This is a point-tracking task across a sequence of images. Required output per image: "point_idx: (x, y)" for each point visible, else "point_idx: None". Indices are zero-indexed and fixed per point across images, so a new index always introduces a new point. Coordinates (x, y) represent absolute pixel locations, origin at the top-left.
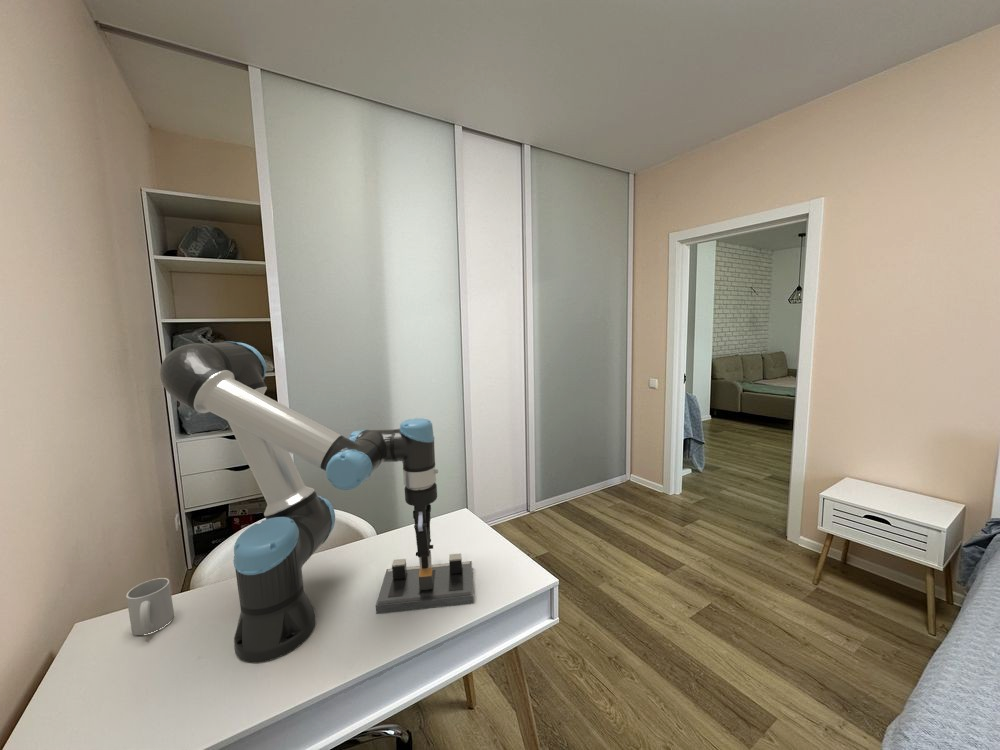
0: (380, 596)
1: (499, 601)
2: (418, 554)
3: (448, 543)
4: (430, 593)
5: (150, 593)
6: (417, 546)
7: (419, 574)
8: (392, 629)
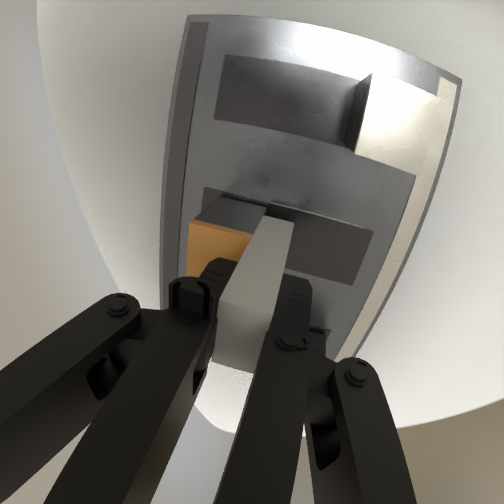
0: (244, 24)
1: None
2: (89, 311)
3: (495, 337)
4: None
5: None
6: (23, 358)
7: (199, 228)
8: (117, 91)
